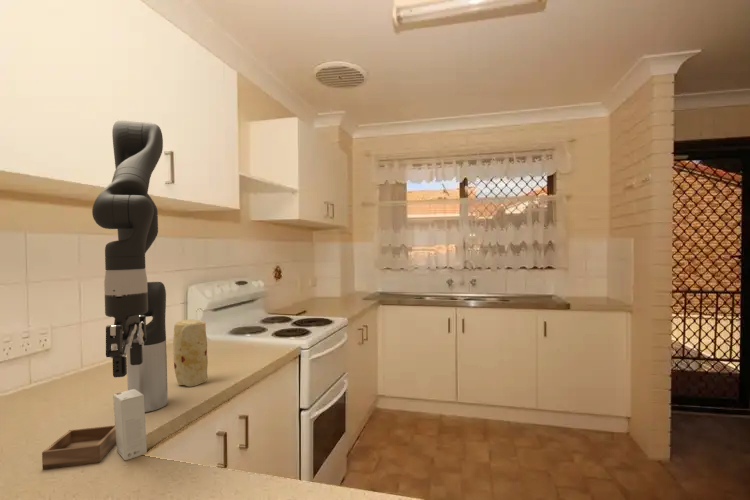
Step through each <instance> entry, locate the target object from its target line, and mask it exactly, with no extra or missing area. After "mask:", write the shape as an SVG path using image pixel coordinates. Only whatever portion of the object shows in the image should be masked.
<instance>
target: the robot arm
mask: <svg viewBox="0 0 750 500" xmlns="http://www.w3.org/2000/svg"><path fill="white" fill-rule="evenodd" d="M111 137H112V146H113V147H112V148H113V156H114V167H115V171H114V173H113V176H112V180H111V183H109V184H108V185H107V186H106V187H104V189H103V190H102V191H101V192H100V193H99V194H98V195H97V197H96V198H95V200H94V202H93V205H92V209H91V210H92V211H91V214H92V217H93V220H94V221H95V223H96V224H97V225H98V227H101V228H103V229H105V230H106V229H107V230H117V240H114V241H110V242H108V243H107V244H105V248H104V260H105V261H104V264H105V265H104V266H105V268H104V269H105V271H104V273H105V275H104V281H103V283H104V284H103V286H104V288H103V289H104V313H105V314H104V315H105V316H106V317H108V318H114V321H113V324H111V325H108V324H107V325H106V326H105V357H106V358H110V359H112V376H113V377H114V378H123V377H125V376H127V391H128V390H132V389H135V390H137V391H138V392H140V393H141V394H143V395H144V408H145V413H149V412H153V411H157V410H160V409H161V408H163V407H166V406H167V405H168V402H169V397H168V396H169V394H168V393H169V391H168V363H167V362H168V361H167V359H168V358H167V357H168V355H167V332H166V331H167V330H166V311H167V310H166V307H167V290H166V287H165V284H164V282H161V281H148V277H147V271H146V269H147V268H146V253H147V251H148V250H149V249H150V248H151V246H152V245H153V243H154V241H155V240H156V238H157V237H158V233H159V217H158V216H159V214H158V207H157V206H156V203H155V202H154V199H153V198H152V197H151V196H150V195H149V193H148V192H149V189H150V188H149V186H150V181H151V177H152V173H153V172H154V171H155V169H156V167H157V165H158V163H159V161H160V159H161V156H162V154H163V150H164V149H163V148H164V139H163V133H162V129H161V127H160V126H159V125H158V124H156V123H153V122H148V121H142V120H141V121H139V120H137V121H136V120H127V119H117V120H115V121H114V122H113V125H112V136H111ZM148 317H151V318H152V319H151V320H150V321H149V322H148V323H147V320H146V319H147V318H148Z"/></svg>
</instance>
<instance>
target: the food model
mask: <svg viewBox="0 0 750 500" xmlns="http://www.w3.org/2000/svg"><path fill="white" fill-rule="evenodd" d="M206 328H207V327H206V321H203V320H201V319H199V320H198V319H189V318H188V319H182V320H180V321H178V322H176V323H174V327H173V348H172V349H173V351H172V354H173V368H174V374H175V378H176V382H177V383H178V385H180V386H186V387H188V388H189V387H190V388H192V387H195V386H198V385H200V384H202V383H205V382H207V380H208V378H209V377H208V376H209V375H208V367H209V365H208V364H209V362H208V358H209V357H208V339H207V338H208V337H207V330H206Z"/></svg>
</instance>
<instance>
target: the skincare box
mask: <svg viewBox="0 0 750 500" xmlns="http://www.w3.org/2000/svg"><path fill="white" fill-rule="evenodd" d="M112 398H113V411H114V412H113V413H114V425H115V430H116V444H115V445H116V452H117V453H118V454H119V455H120V456H121V458H122V459H123V460H124V461H129V460H131V459H134V458H137V457H140V456H143V455H145V454H147V452H148V444H147V442H148V441H147V430H146V429H147V428H146V412H145V408H144V395H143V394H141V393H140V392H138V391H137V390H135V389H132V390H128V389H127V390H124V391H121V392H118V393H114V394H113V397H112Z"/></svg>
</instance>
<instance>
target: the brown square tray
mask: <svg viewBox="0 0 750 500" xmlns="http://www.w3.org/2000/svg"><path fill="white" fill-rule="evenodd" d="M115 445H116V430H115V424H114V425H106V426H105V425H104V426H96V427H89V428H88V427H87V428H79V429H69V430H68V431H66V432H65V433H64V434H63V435H62V436H60V437H59V438H58V439H57V440H56V441H54V442H53V443H51V444H50V445H49V446H48V447H47V448H46V449H44V450H43V451H42V452H41V458H42V459H41V461H42V462H41V463H42V470H50V469H59V468H66V467H67V468H68V467H74V466H82V465H90V464H92V465H93V464H99V463H100V462H101V461H102V459H104V458H105V456H107V455H108V453H109V452H110V451H111V450H112V449H113V447H114V446H115Z"/></svg>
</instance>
